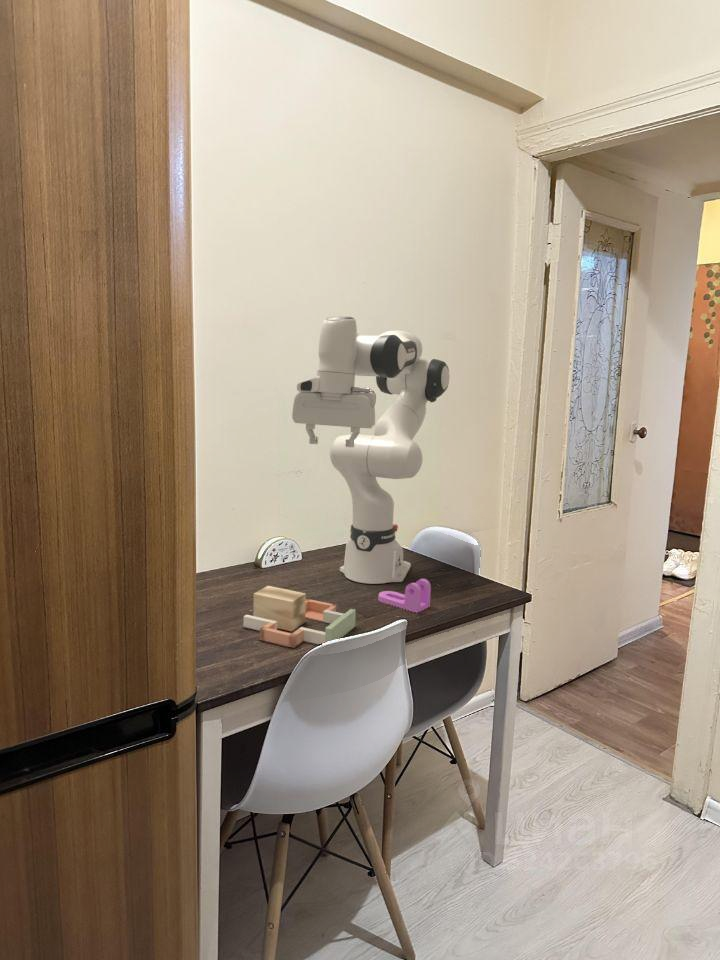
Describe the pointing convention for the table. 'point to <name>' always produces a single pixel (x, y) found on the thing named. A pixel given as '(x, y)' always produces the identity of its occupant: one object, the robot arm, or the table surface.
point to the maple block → (280, 607)
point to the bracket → (409, 596)
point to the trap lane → (314, 611)
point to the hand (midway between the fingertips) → (331, 445)
